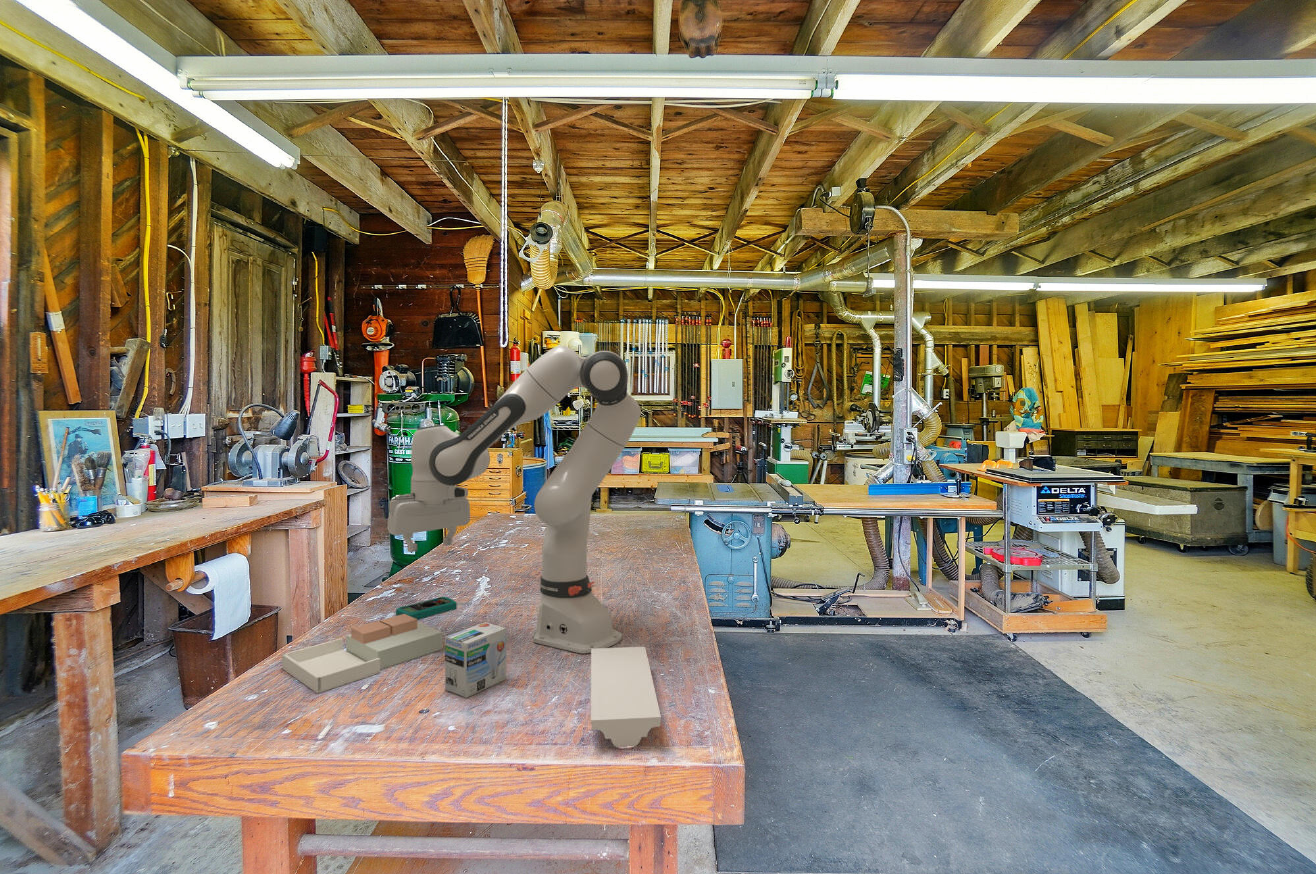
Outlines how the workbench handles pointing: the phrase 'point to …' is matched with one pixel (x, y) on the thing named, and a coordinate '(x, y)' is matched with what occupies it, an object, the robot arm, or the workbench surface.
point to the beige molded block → (623, 695)
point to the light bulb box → (475, 659)
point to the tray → (327, 666)
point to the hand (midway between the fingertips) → (430, 548)
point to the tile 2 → (400, 624)
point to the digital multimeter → (428, 608)
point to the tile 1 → (370, 632)
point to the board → (397, 646)
